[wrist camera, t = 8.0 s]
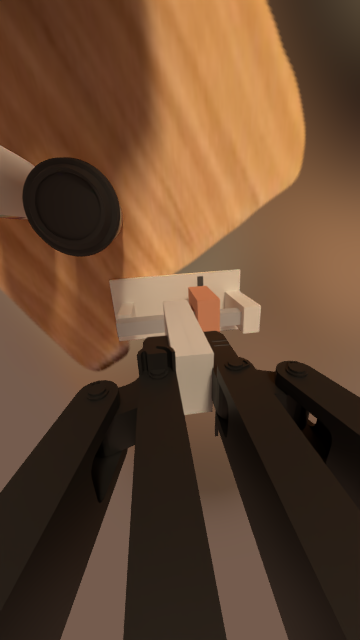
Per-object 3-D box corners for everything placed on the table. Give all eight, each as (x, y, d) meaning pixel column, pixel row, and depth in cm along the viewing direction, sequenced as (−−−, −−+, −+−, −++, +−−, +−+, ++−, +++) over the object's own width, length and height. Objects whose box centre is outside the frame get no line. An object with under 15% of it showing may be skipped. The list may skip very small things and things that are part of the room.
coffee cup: (116, 258, 38) (96, 274, 24) (59, 230, 35) (0, 230, 21) (139, 203, 35) (132, 185, 21) (79, 169, 33) (27, 124, 19)
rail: (109, 279, 39) (97, 295, 29) (238, 269, 41) (264, 280, 31) (119, 339, 43) (111, 369, 33) (236, 327, 45) (259, 352, 35)
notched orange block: (188, 287, 38) (197, 301, 30) (206, 285, 38) (220, 299, 30) (190, 332, 40) (198, 355, 33) (206, 330, 41) (219, 352, 33)
